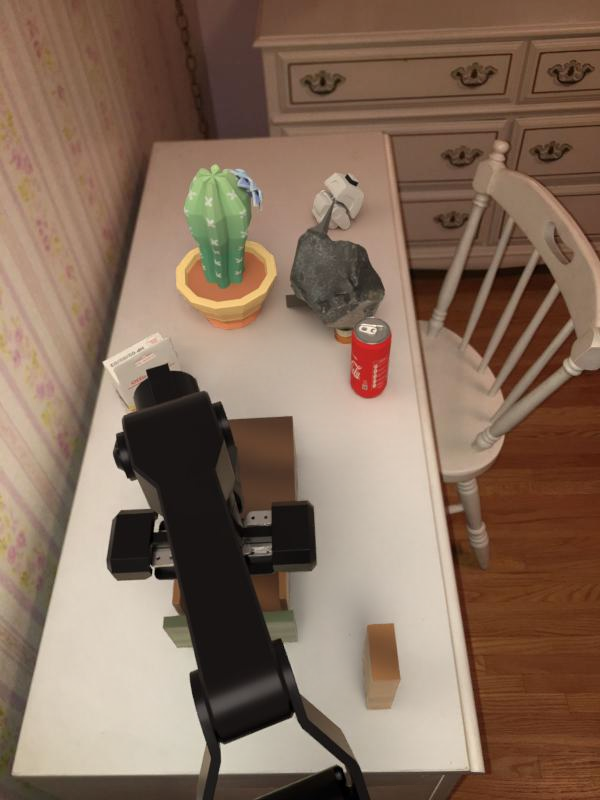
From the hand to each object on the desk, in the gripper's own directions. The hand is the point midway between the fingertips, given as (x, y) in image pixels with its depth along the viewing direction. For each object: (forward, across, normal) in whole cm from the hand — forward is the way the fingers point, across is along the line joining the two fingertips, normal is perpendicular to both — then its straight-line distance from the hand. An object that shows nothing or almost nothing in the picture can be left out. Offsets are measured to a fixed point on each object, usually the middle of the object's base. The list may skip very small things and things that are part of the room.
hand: (226, 573), depth 66 cm
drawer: (+10, 0, 0) cm, 10 cm away
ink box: (+11, +12, -29) cm, 33 cm away
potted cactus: (+11, +2, -48) cm, 49 cm away
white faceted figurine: (+11, -16, -68) cm, 71 cm away
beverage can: (+11, -18, -31) cm, 38 cm away
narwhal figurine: (+11, -14, -43) cm, 47 cm away
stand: (+11, -15, +9) cm, 21 cm away
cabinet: (+11, 0, -13) cm, 17 cm away
